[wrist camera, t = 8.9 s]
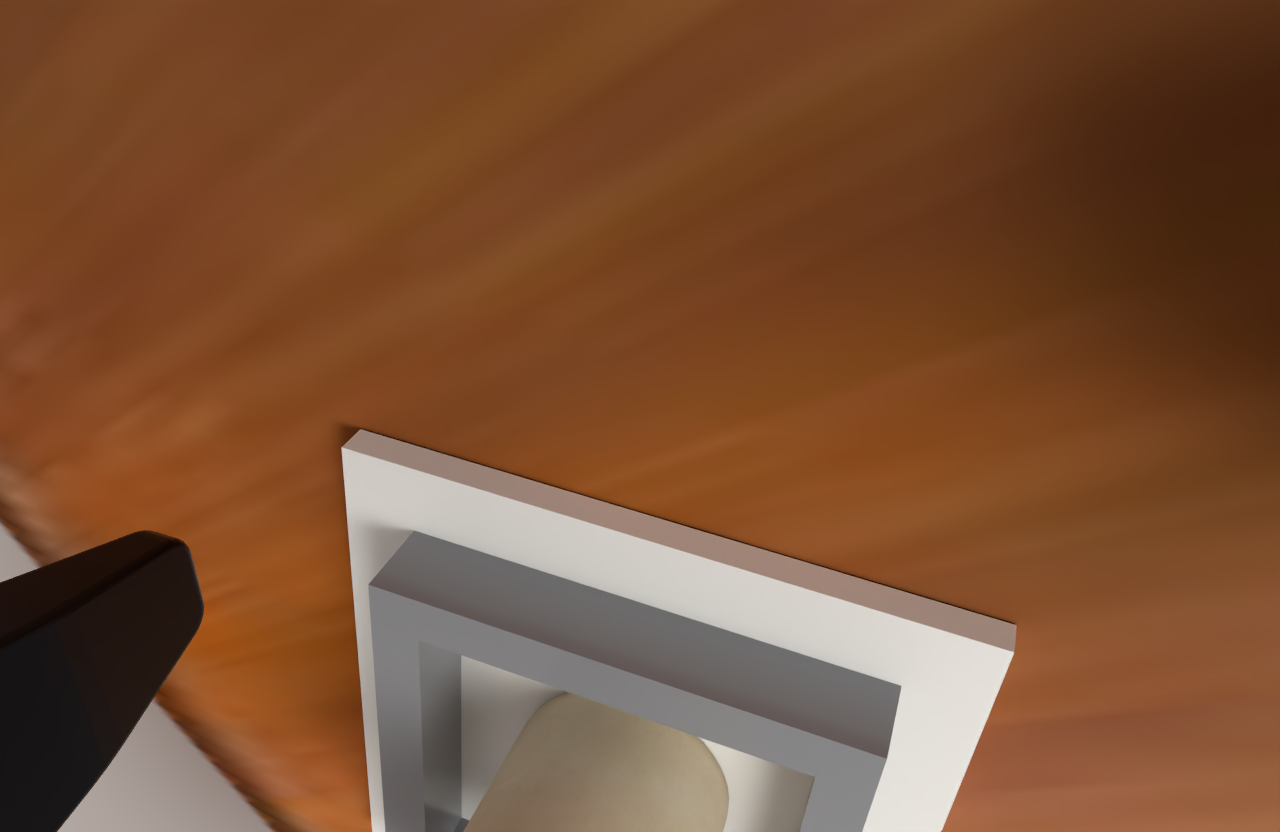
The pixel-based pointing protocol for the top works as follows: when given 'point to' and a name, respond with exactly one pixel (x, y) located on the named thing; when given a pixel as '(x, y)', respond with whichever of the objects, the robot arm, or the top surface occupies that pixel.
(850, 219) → the top surface
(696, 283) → the top surface
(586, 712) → the candle
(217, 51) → the top surface
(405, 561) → the candle tray
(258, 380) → the top surface
